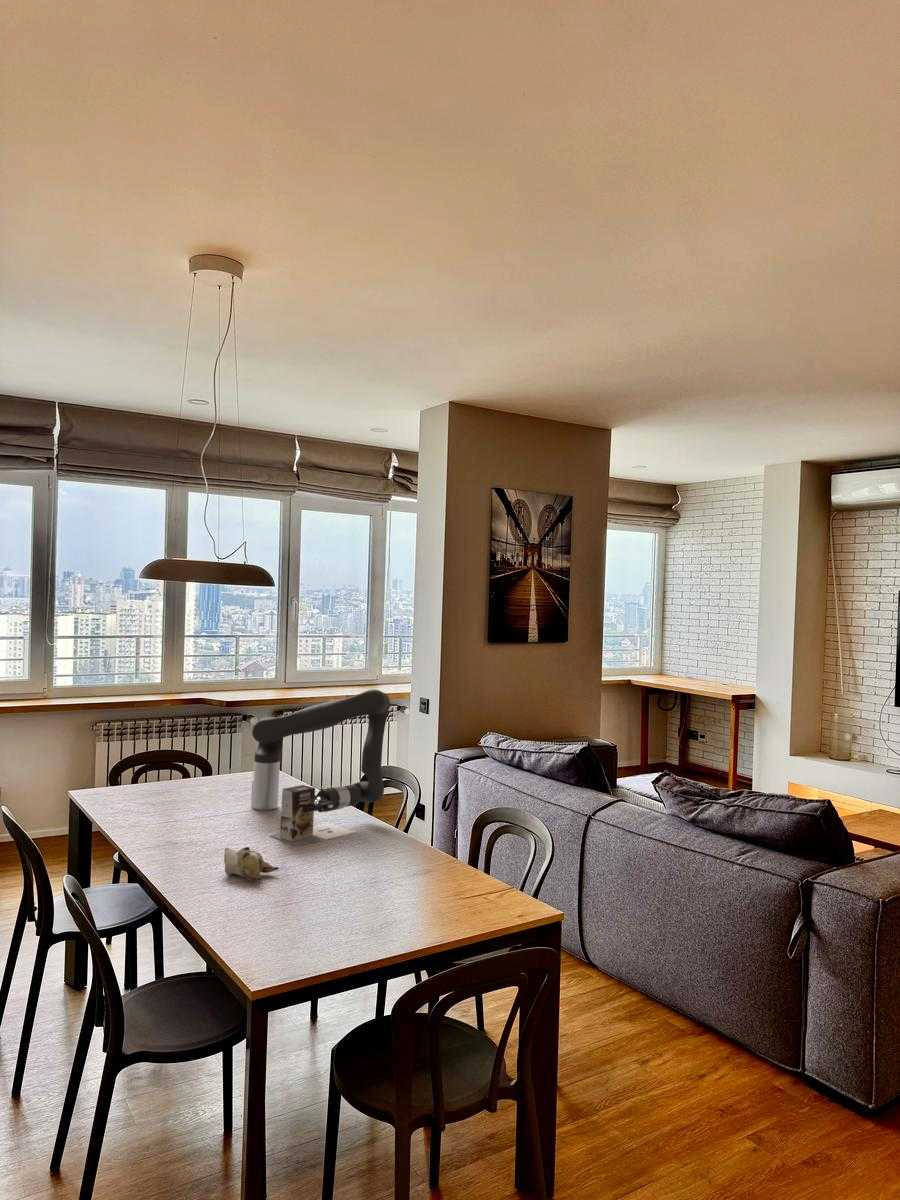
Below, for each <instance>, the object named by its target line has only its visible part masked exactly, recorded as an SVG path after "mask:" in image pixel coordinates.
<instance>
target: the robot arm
mask: <svg viewBox="0 0 900 1200" xmlns="http://www.w3.org/2000/svg"><path fill="white" fill-rule="evenodd" d="M390 706H391V701H390V697H389V696H388V695H387V694H386V693H385V692H383V691H381V690H379V689H368V690H366V691H363V692H361V693H358V694H355V695H351V696H349V697H347V698H343V699H342V698H341V699H338V700H337V699H336V700H331V701H327V702H321V703H318V704H314V705H310V706H308V707H305V708H301V709H300V710H297V711H295V712H293V713H291V714H287V715H283V716H279V717H276V716H267V717H264V718H262V719H260V720H258V721H257V722H256V723H255V724H254V726H253V727H252V730H251V734H252V737H253V739H254V741H256V742H258V746H257V749H256V751H255V754H254V761H253V762H254V763H253V764H254V765H253V780H252V781H251V797H250V799H251V800H250V806H251V808H252V809H255V810H259V811H271V810H275V809H277V808H278V807H279V787H280V786H279V785H280V769H281V768H280V766H281V755H282V752H283V742H284V738H285V737H289V736H295V735H299V734H301V735H302V734H306V733H311V732H312V733H313V732H316V731H321V730H325V729H329V728H331V727H334V726H335V727H336V726H337V725H339V724H341V723H343V722H345V721H346V720H348V719H352V718H356V717H361V716H367V717H368V718H367V719H368V725H367V726H368V727H367V732H366V737H365V740H364V743H363V744H364V745H363V747H362V753H361V772H362V774H365V775H366V777H367V781H359V782H355V783H352V784H349V785H343V786H335V787H329V788H328V787H327V788H323V789H320V790H319V791H318V792H317V793H316V794H315V800H314V803H313V804H308V805H304V806H303V812H310V811H314V812H318V813H323V812H324V813H326V812H331V811H335V810H336V811H338V810H341V809H344V808H347V807H351V806H355V805H357V804H359V803H361V802H364V803H365V802H366V803H367V802H368V803H378V802H380V801H381V800H382V798H383V795H384V794H385V784H384V779H383V773H382V762H383V761H382V757H383V756H382V755H383V746H384V745H383V743H384V734H385V728H386V724H387V723H386V722H387V719H388V715H389V709H390Z"/></svg>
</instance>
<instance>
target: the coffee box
mask: <svg viewBox="0 0 900 1200" xmlns="http://www.w3.org/2000/svg"><path fill="white" fill-rule="evenodd" d="M281 792H282V793H281V797H282V798H281V809H280V810H281V811H280V812H281V813H280V824H279V825H280V827H279V833H280V838H283V839H285V840H288V841H291V842H293V841H297V840H301V839H305V838H309V837H312V836H313V826H314V820H315V819H314V817H315V815H314V814H315V811H310V812H303V806H304V805H308V804H313V803H314V800H315V795H316V788H315V787H313V786H309V785H304V784H301V785H295V786H291V787H285V788H282V791H281ZM313 837H314V836H313Z"/></svg>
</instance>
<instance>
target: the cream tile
mask: <svg viewBox="0 0 900 1200" xmlns="http://www.w3.org/2000/svg"><path fill="white" fill-rule="evenodd" d="M354 833H356V831H355V830H351V829H348V828H345V827H342V826H339V825H336V824H333V823H330V822H326V823H322V824H318V825H313V837H316V838H319V839H322V840H325V841H326V840H330V839H334V838H338V837H343V836H347V835H351V834H354Z"/></svg>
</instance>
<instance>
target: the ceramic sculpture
mask: <svg viewBox="0 0 900 1200" xmlns="http://www.w3.org/2000/svg"><path fill="white" fill-rule="evenodd" d="M223 857H224V858H223V860H224V862H223V863H224V872H225V875H227V876H232V875H237V876H240V877H242V878H244V879H245V878H246V879H247V880H248V881H250V882H257V881H263V878H262V876H261V874H268V873H271V872H275V871H277V870H279V869H280V867H278V866H273V865H271V864H270V863H269V862H267V861H265V860H264V858H263V856H262V855H261V854H260V853H259V852H257V851H254V850H251V849H250V847H249V846H247V847H246V846H245V847H242V848H240V850H239V851H237V850H235V849H232V848H229V847H225V849H224V856H223Z"/></svg>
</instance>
